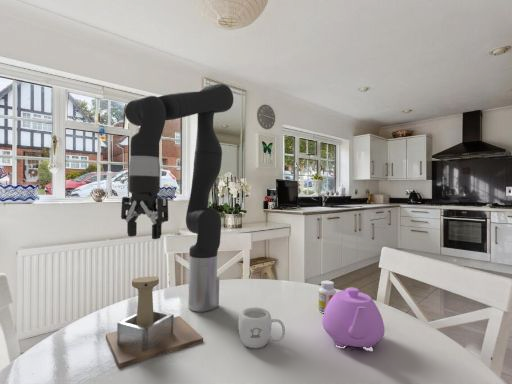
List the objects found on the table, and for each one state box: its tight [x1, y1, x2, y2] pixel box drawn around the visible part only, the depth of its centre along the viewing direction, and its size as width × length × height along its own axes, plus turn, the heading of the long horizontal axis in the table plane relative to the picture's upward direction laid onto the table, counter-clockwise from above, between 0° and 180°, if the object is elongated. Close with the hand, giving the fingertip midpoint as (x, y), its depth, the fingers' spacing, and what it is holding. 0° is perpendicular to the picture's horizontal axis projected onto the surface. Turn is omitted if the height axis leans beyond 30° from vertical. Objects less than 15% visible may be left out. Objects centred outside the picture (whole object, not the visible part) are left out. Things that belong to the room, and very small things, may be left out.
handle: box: [131, 276, 160, 328], centre depth 75 cm, size 5×6×15 cm
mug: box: [238, 307, 286, 349], centre depth 75 cm, size 12×8×8 cm
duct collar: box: [116, 309, 175, 352], centre depth 75 cm, size 10×9×5 cm
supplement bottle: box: [318, 280, 337, 313], centre depth 96 cm, size 5×5×10 cm
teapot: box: [321, 286, 386, 348], centre depth 77 cm, size 22×16×14 cm
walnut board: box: [105, 315, 204, 369], centre depth 76 cm, size 20×16×1 cm
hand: (143, 237), depth 76 cm, fingers open, 8 cm apart
